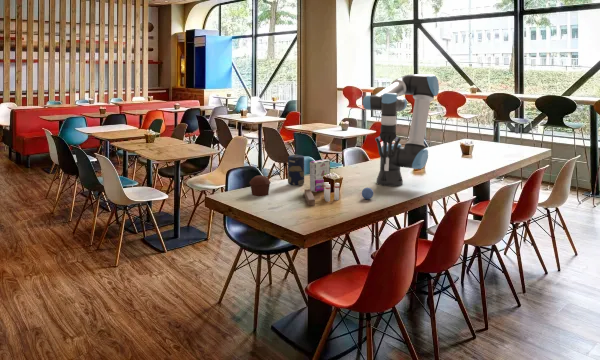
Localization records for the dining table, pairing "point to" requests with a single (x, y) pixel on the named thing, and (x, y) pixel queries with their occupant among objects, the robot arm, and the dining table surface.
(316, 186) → the candy bar box
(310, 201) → the back wall
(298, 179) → the canister
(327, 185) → the pin
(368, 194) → the ball
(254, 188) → the muffin
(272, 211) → the dining table surface
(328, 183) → the pin
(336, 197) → the front pin
